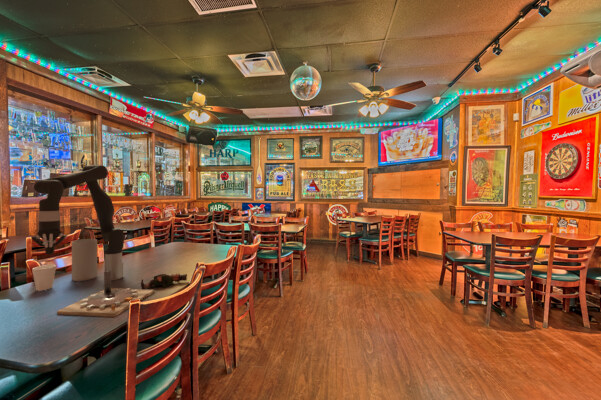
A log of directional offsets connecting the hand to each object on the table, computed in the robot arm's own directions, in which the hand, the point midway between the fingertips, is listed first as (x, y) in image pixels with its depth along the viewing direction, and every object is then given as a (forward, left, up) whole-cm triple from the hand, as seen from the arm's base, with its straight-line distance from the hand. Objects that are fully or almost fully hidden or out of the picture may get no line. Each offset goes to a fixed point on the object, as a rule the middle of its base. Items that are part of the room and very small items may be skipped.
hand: (49, 254), depth 121 cm
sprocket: (-6, +27, -24) cm, 36 cm away
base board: (-6, +27, -26) cm, 38 cm away
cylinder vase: (-38, -19, -26) cm, 50 cm away
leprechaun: (-32, +39, -26) cm, 57 cm away
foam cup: (-19, -25, -26) cm, 41 cm away
